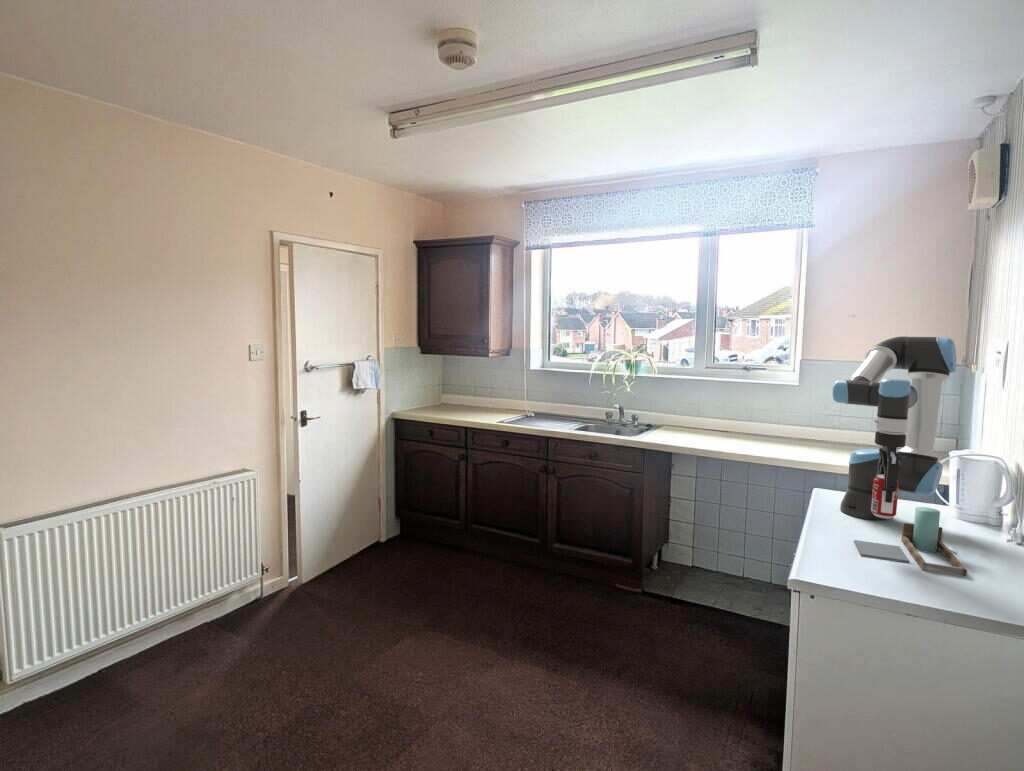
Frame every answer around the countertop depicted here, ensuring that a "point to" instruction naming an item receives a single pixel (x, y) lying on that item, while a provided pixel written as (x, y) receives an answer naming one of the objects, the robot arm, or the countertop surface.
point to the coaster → (881, 551)
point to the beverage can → (877, 498)
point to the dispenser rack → (958, 567)
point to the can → (926, 529)
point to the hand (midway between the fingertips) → (884, 509)
